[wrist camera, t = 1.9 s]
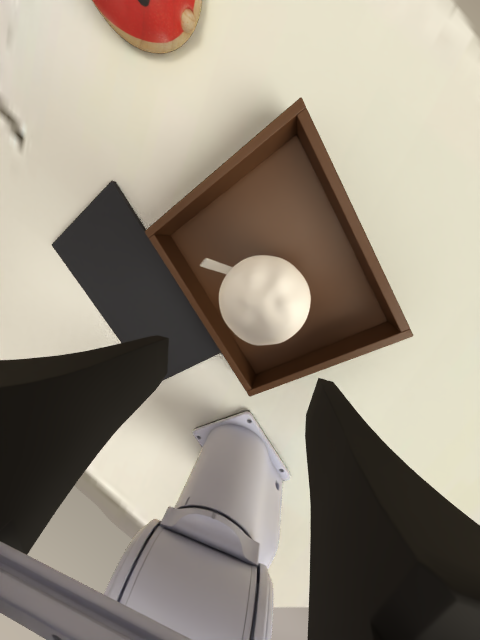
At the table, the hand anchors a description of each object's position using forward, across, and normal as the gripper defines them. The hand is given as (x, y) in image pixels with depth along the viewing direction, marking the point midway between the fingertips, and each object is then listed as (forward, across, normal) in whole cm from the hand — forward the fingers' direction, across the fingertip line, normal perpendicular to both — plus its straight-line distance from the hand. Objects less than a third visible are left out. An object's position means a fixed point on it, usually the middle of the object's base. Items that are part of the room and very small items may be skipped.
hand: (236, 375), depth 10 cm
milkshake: (+10, 0, -3) cm, 11 cm away
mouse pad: (+10, +13, +1) cm, 17 cm away
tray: (+10, 0, -3) cm, 11 cm away
